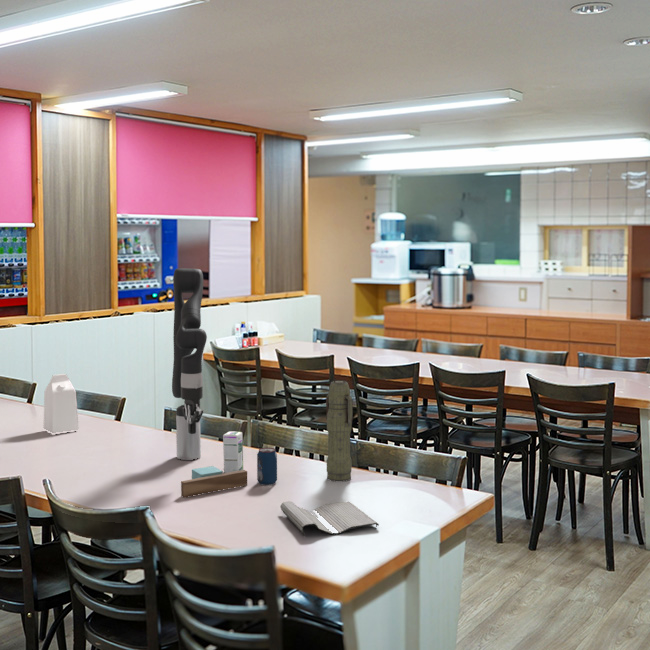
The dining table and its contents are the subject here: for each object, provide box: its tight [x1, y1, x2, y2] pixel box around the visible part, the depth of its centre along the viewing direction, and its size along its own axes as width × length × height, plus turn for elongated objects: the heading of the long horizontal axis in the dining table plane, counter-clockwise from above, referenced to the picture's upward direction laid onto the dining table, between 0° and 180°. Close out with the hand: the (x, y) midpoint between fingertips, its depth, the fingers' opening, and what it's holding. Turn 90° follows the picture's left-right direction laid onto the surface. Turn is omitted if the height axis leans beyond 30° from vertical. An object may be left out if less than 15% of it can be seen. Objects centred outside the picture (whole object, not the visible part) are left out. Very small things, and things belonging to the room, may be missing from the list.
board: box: [180, 469, 248, 498], centre depth 267 cm, size 2×24×5 cm, turn 127°
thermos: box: [325, 379, 354, 482], centre depth 281 cm, size 9×12×35 cm
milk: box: [43, 373, 80, 433], centre depth 356 cm, size 12×12×26 cm
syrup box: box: [222, 430, 244, 473], centre depth 290 cm, size 6×6×14 cm
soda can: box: [256, 447, 278, 486], centre depth 275 cm, size 7×7×12 cm
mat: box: [280, 500, 380, 535], centre depth 236 cm, size 23×24×5 cm
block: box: [191, 465, 224, 479], centre depth 271 cm, size 8×8×6 cm
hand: (192, 433), depth 278 cm, fingers closed
